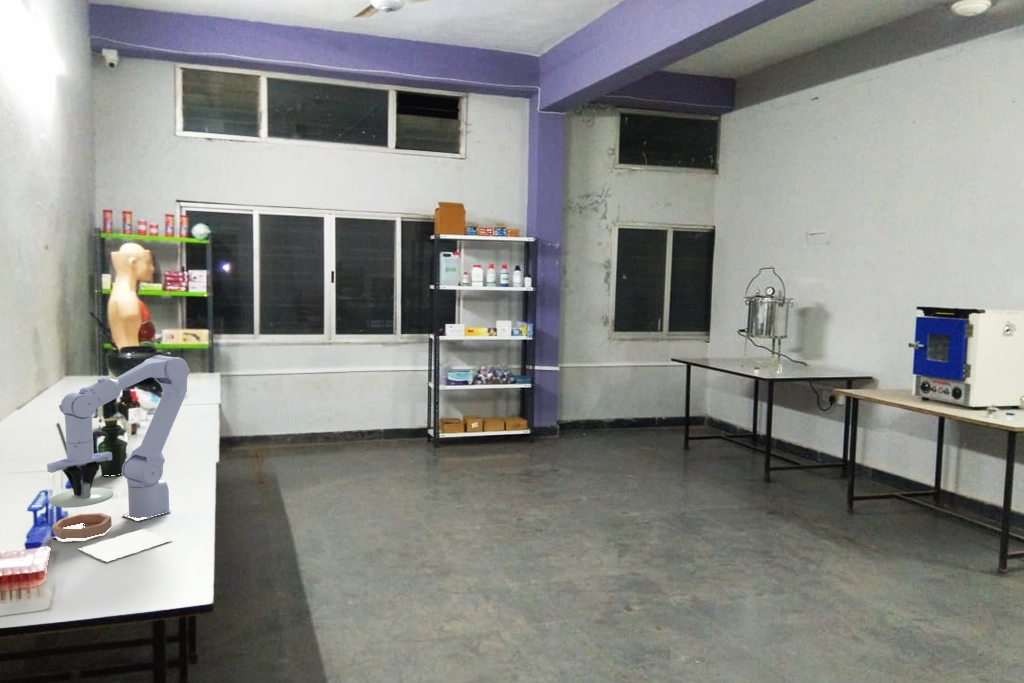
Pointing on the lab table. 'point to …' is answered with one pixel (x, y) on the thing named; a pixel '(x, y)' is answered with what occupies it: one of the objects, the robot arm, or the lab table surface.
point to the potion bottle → (112, 448)
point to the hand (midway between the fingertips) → (82, 493)
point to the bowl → (93, 525)
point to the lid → (81, 497)
